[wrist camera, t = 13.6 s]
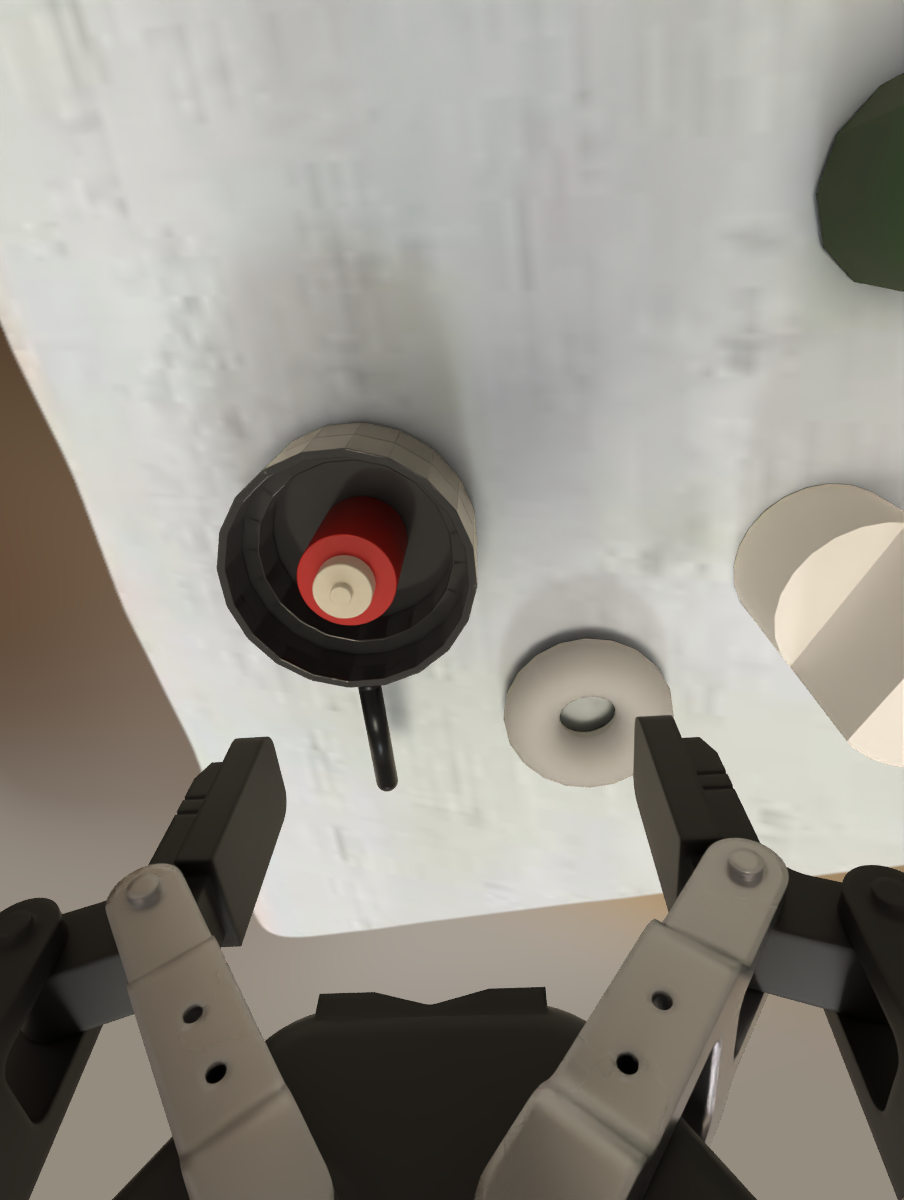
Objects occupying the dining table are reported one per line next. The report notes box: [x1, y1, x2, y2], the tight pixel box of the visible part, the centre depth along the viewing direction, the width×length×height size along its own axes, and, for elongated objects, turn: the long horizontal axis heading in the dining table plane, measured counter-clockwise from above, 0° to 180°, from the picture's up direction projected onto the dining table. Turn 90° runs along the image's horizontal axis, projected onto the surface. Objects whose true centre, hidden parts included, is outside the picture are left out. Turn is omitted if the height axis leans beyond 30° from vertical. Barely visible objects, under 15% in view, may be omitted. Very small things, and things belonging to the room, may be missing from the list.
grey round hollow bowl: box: [217, 422, 477, 687], centre depth 36 cm, size 12×12×6 cm
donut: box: [504, 638, 674, 787], centre depth 42 cm, size 10×4×10 cm
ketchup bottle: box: [297, 496, 408, 625], centre depth 35 cm, size 5×5×8 cm
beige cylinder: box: [734, 484, 904, 767], centre depth 34 cm, size 9×9×12 cm
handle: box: [358, 685, 398, 791], centre depth 38 cm, size 8×1×1 cm, turn 6°
